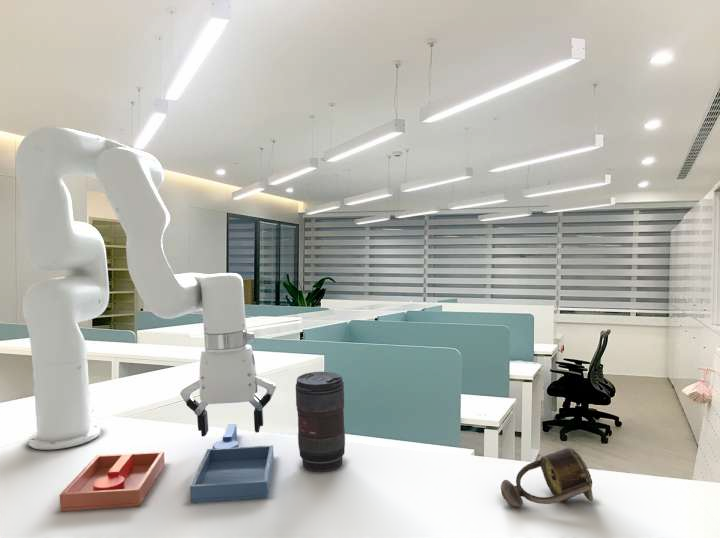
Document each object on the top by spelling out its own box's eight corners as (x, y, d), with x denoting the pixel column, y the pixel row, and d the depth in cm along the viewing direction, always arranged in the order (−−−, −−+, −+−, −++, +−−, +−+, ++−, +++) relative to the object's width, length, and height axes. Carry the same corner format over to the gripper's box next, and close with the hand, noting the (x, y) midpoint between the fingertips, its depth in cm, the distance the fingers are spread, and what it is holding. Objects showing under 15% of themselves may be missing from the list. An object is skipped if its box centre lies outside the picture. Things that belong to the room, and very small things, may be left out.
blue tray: (208, 463, 101) (207, 449, 100) (273, 459, 101) (273, 445, 101) (190, 503, 86) (189, 486, 86) (267, 498, 87) (266, 481, 87)
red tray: (97, 469, 99) (96, 455, 99) (164, 465, 100) (164, 451, 100) (60, 511, 84) (59, 494, 84) (139, 506, 85) (138, 489, 85)
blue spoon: (237, 459, 102) (236, 444, 102) (211, 460, 102) (210, 446, 101) (244, 436, 113) (243, 423, 113) (221, 437, 113) (220, 424, 112)
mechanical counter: (604, 482, 77) (592, 439, 86) (505, 467, 79) (503, 427, 89) (596, 526, 79) (585, 480, 88) (500, 511, 82) (499, 467, 91)
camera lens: (289, 470, 97) (286, 381, 96) (311, 452, 104) (308, 369, 103) (334, 476, 94) (331, 385, 93) (353, 457, 101) (351, 372, 100)
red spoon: (119, 499, 86) (118, 482, 86) (89, 501, 86) (88, 484, 86) (141, 469, 98) (140, 453, 97) (114, 470, 97) (113, 455, 97)
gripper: (274, 334, 111) (279, 422, 113) (182, 339, 110) (188, 428, 111) (271, 341, 104) (277, 435, 105) (172, 347, 103) (179, 442, 104)
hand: (231, 431), depth 108 cm, fingers open, 9 cm apart
